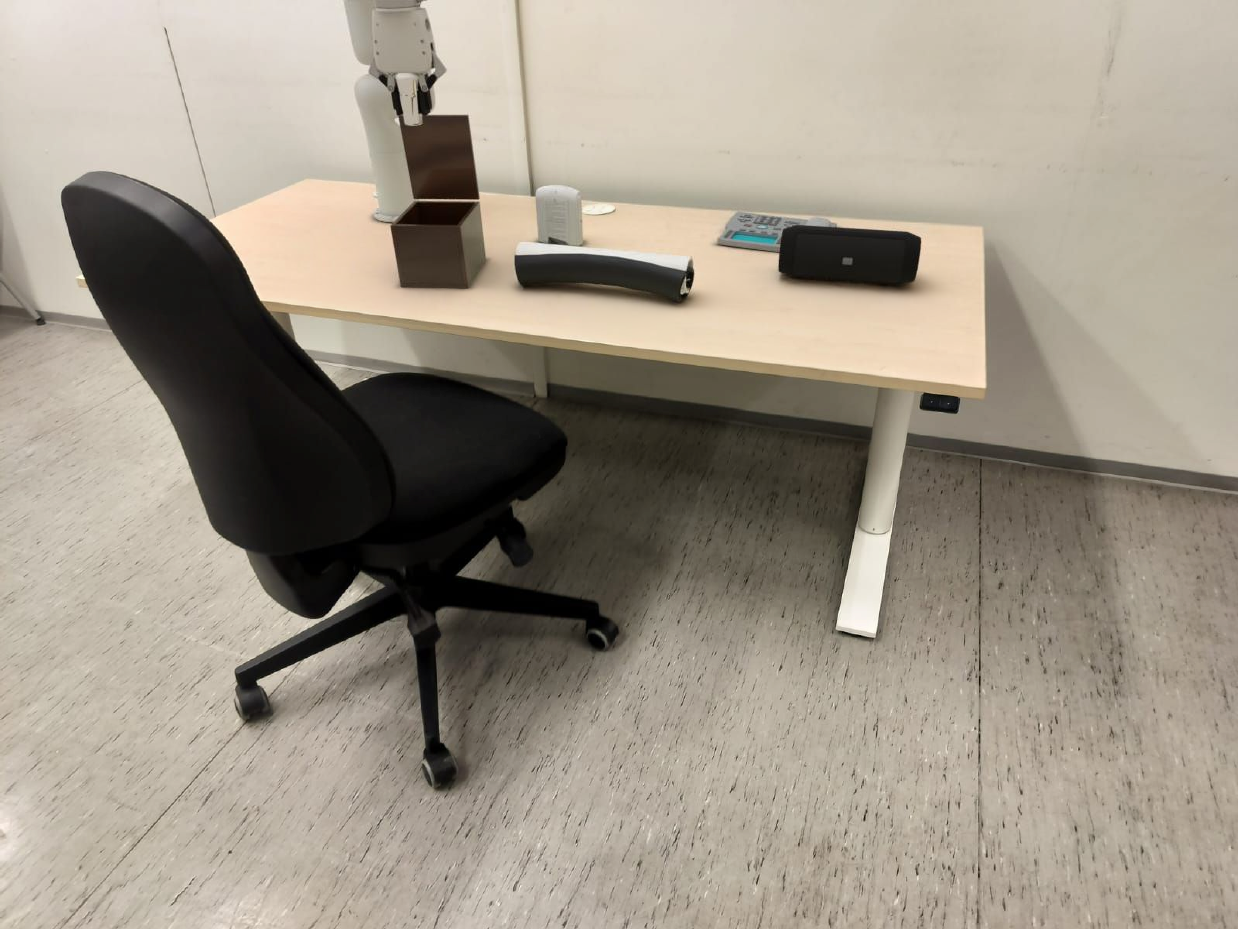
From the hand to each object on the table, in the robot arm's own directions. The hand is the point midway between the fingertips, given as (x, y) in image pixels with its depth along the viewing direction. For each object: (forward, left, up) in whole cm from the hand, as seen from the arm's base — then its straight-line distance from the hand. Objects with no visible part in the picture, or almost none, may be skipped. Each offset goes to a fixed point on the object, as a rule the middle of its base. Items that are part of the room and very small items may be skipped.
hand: (413, 112), depth 155 cm
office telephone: (-27, +69, -31) cm, 80 cm away
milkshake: (0, 0, -2) cm, 2 cm away
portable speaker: (-2, +81, -31) cm, 87 cm away
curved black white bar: (+3, +35, -31) cm, 47 cm away
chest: (-2, +1, -31) cm, 31 cm away
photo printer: (-21, +22, -31) cm, 44 cm away
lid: (-8, +1, -10) cm, 13 cm away
